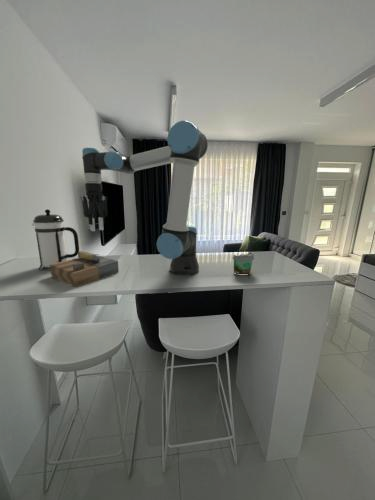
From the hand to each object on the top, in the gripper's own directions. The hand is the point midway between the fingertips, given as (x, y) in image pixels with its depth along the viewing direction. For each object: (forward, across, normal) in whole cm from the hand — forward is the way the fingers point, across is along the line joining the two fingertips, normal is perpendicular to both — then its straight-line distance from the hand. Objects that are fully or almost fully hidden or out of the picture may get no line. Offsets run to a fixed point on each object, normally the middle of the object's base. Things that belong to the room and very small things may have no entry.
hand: (97, 230), depth 109 cm
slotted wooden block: (+20, +11, +5) cm, 23 cm away
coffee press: (+20, +13, -18) cm, 30 cm away
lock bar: (+13, +8, +3) cm, 16 cm away
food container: (+20, -36, +67) cm, 79 cm away
